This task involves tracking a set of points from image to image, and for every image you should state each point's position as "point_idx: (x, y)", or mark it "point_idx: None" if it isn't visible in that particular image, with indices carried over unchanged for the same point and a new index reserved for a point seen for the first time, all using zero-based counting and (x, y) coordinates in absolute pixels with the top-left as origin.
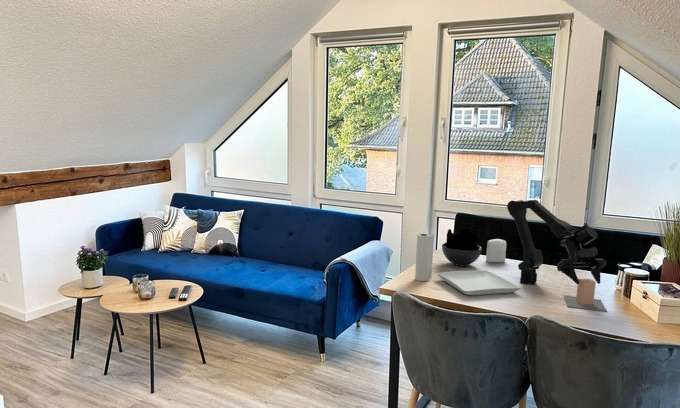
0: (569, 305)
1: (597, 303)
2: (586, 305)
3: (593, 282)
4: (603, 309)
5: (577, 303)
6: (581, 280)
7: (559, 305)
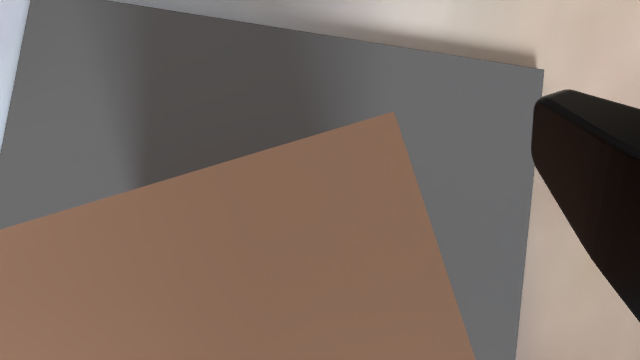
0: (514, 100)
1: None
2: None
3: (37, 225)
4: (63, 43)
5: None
6: (439, 274)
7: None
